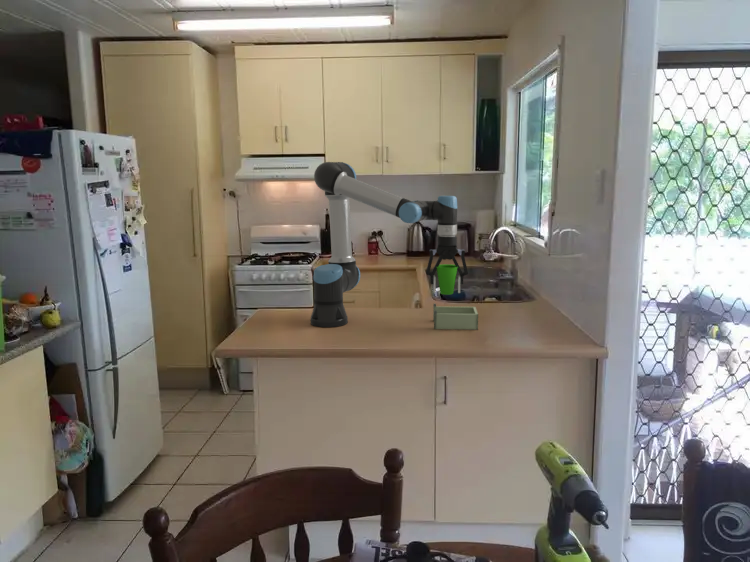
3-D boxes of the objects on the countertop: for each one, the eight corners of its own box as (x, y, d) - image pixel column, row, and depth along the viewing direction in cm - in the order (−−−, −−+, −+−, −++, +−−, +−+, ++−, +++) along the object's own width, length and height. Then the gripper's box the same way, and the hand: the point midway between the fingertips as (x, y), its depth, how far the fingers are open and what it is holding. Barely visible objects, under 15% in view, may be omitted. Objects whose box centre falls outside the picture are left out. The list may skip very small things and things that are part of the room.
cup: (457, 295, 228) (457, 268, 226) (434, 295, 230) (434, 267, 228) (458, 291, 237) (459, 264, 235) (436, 290, 239) (436, 264, 237)
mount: (433, 329, 230) (434, 311, 228) (433, 320, 243) (433, 303, 242) (477, 329, 228) (478, 311, 227) (474, 320, 242) (475, 303, 240)
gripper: (419, 236, 227) (419, 294, 231) (476, 236, 225) (475, 294, 229) (419, 234, 234) (419, 290, 238) (474, 234, 232) (473, 290, 236)
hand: (446, 292), depth 234 cm, fingers closed on cup, 9 cm apart
